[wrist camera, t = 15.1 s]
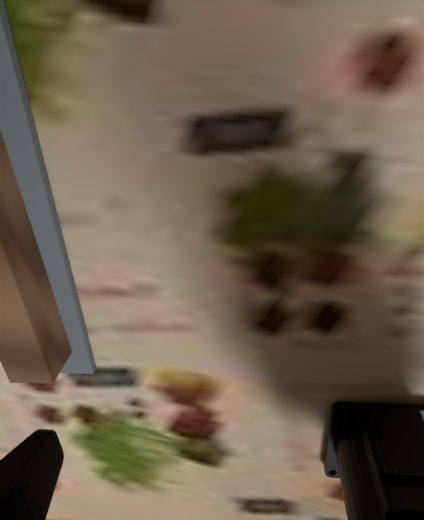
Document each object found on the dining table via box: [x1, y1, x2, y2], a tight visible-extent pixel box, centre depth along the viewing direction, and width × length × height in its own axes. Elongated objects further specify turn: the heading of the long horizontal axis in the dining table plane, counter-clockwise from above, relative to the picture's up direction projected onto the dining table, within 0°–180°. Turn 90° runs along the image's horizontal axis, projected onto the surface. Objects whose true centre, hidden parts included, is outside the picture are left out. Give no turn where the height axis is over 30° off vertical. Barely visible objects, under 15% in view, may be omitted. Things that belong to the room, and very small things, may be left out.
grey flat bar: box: [0, 0, 96, 374], centre depth 20 cm, size 20×5×1 cm, turn 3°
